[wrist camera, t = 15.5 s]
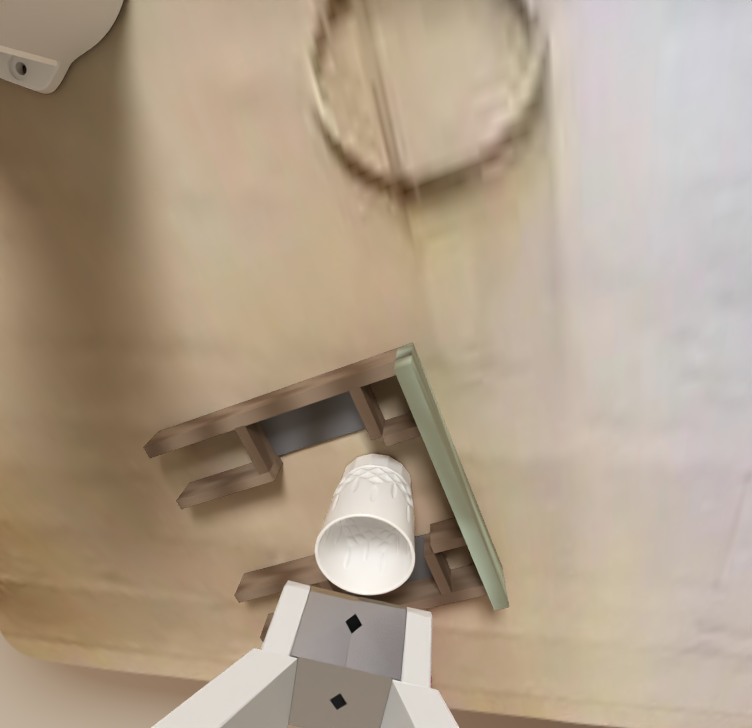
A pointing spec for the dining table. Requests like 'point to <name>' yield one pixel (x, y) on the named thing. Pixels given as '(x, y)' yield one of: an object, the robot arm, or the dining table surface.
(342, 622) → the robot arm
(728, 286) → the dining table surface
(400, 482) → the white cup
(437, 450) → the organizer tray
